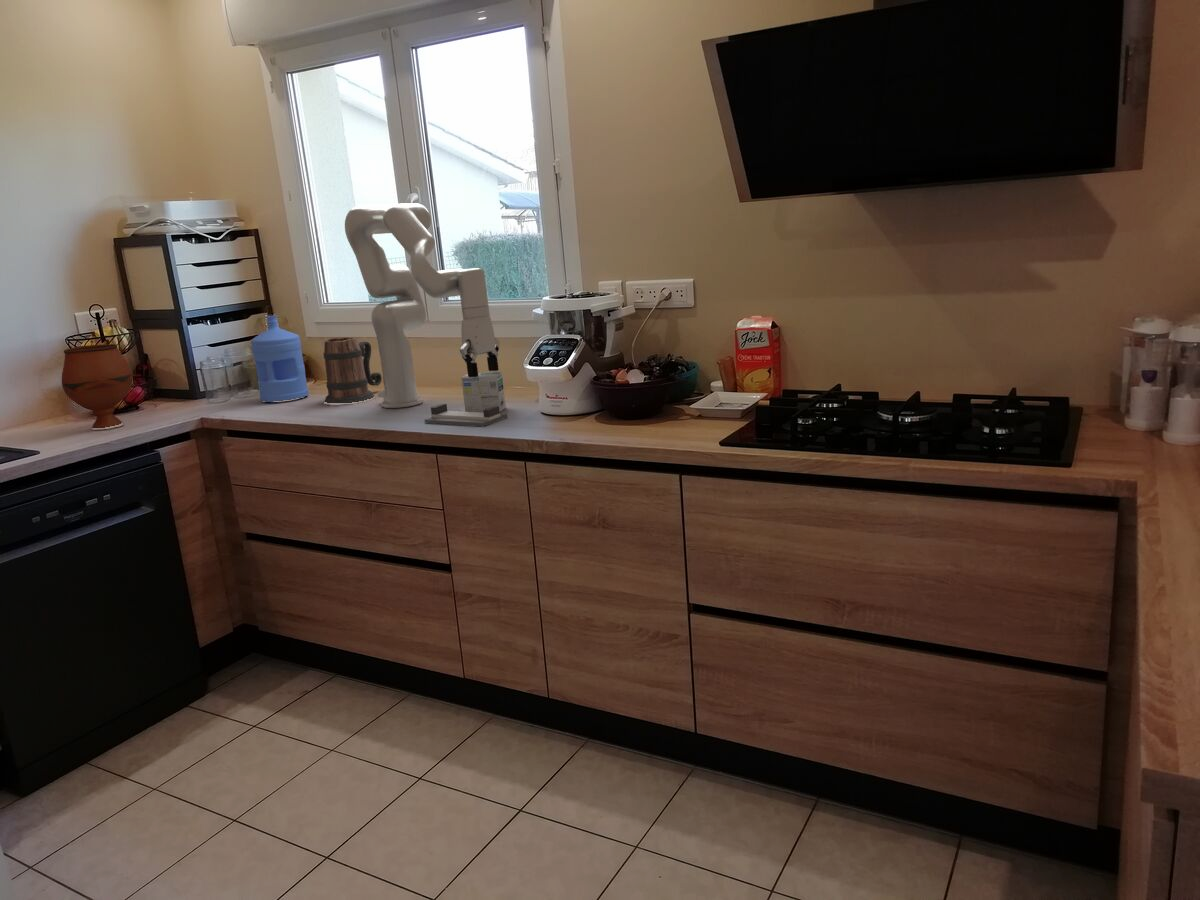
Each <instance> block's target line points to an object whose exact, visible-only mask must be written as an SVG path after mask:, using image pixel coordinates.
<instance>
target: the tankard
mask: <svg viewBox="0 0 1200 900" xmlns="http://www.w3.org/2000/svg"><path fill="white" fill-rule="evenodd" d="M371 357H372V345H371V344H370V342H369V341H360V342H359V341H358V338H357V337H342V338H340V337H339V338H336V337H335V338H329V339H326V340H324V349H323V359H324V364H325V374H326V383H325V385H326V388H327V395H326V396H325V399H324V401H325V402H327V403H352V402H359V401H364V400H367V399H371V398H373V397H374V396H375V395H374V394H373V392H372V391H371V390H369V385H370V386H371V387H372V386H373V387H374V386H376V387H377V386H379V385H380V384H381V383H382V381H383V379H382V378H383V376H382V374H381V373H380V372H372V373H371V369H370V367H371V366H370V360H371Z"/></svg>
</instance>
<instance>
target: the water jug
mask: <svg viewBox="0 0 1200 900" xmlns="http://www.w3.org/2000/svg"><path fill="white" fill-rule="evenodd" d="M266 319H267V322H266V323H267V326H268V328H267V329H266V330H265V331H263V332H261V333H260V334H258V335H257V336H255V337H254V338H252V339H251V340H250V344H251V345H250V347H251V351H252V352H251V353H252V355H253V356H252V357H253V360H254V364H255V370H256V376H257V386H258V390H259V400H260V401H261V402H262V401H265V402H273V401H283V400H291V399H296V398H301V397H305V396H307V395H308V394H310V392H309V388H308V384H307V383H308V382H307V377H306V368H305V363H304V358H303V352H302V351H303V350H302V342H301V339H300V335H299V334H297V333H294V332H291V331H289V330H286V329H283V328H280V327H279V323H278V322H279V321H278V318H277V315H267V316H266ZM308 396H309V395H308ZM308 396H307V397H308Z"/></svg>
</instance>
